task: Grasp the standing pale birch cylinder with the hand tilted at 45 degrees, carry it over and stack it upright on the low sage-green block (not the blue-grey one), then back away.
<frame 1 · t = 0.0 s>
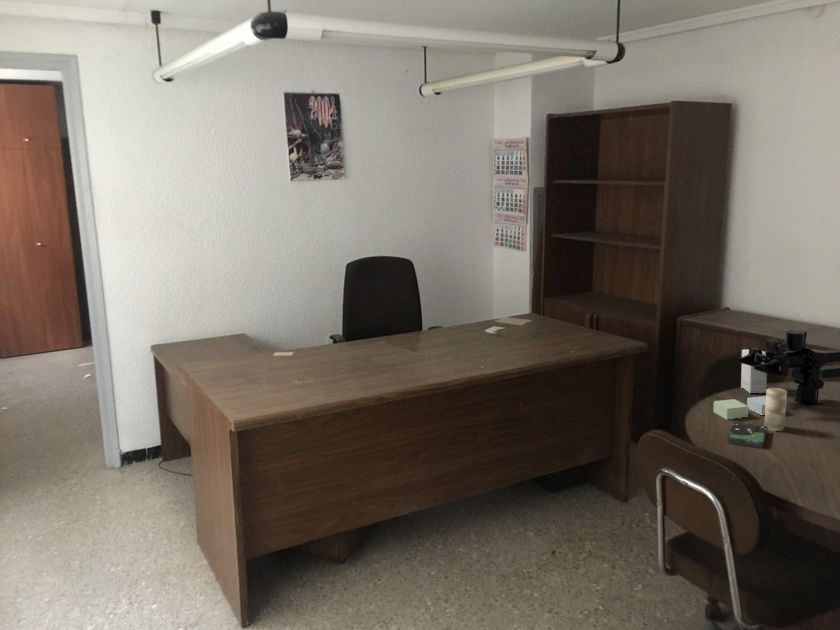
hand: (745, 364, 248), 17 cm above the table, tool horizontal, fingers open, 9 cm apart
sage block: (730, 414, 247), on the table
blue-grey block: (764, 411, 249), on the table
skincare box: (752, 391, 271), on the table
disk drive: (747, 439, 227), on the table
birch cylinder: (774, 428, 233), on the table
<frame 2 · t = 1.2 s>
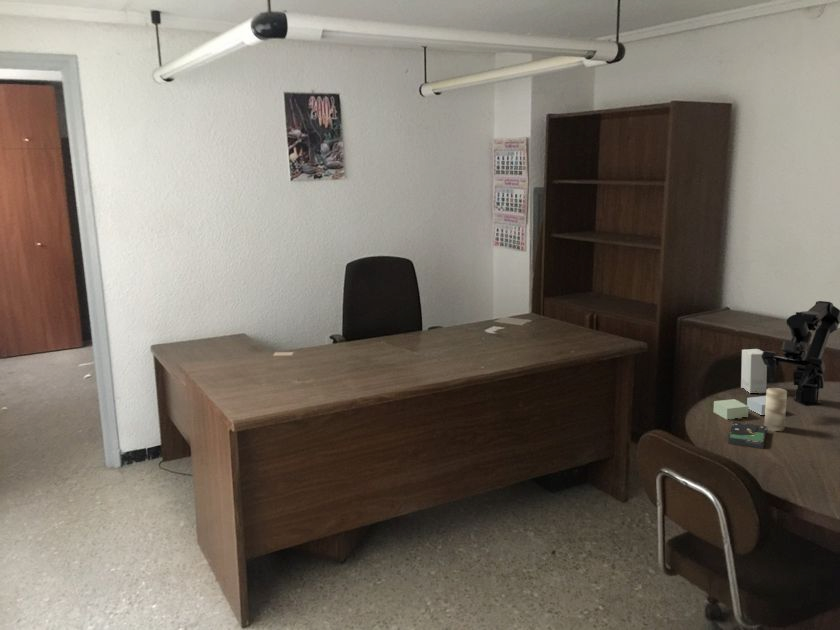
hand: (785, 383, 236), 13 cm above the table, tool tilted 45°, fingers open, 9 cm apart
nothing on the table moved.
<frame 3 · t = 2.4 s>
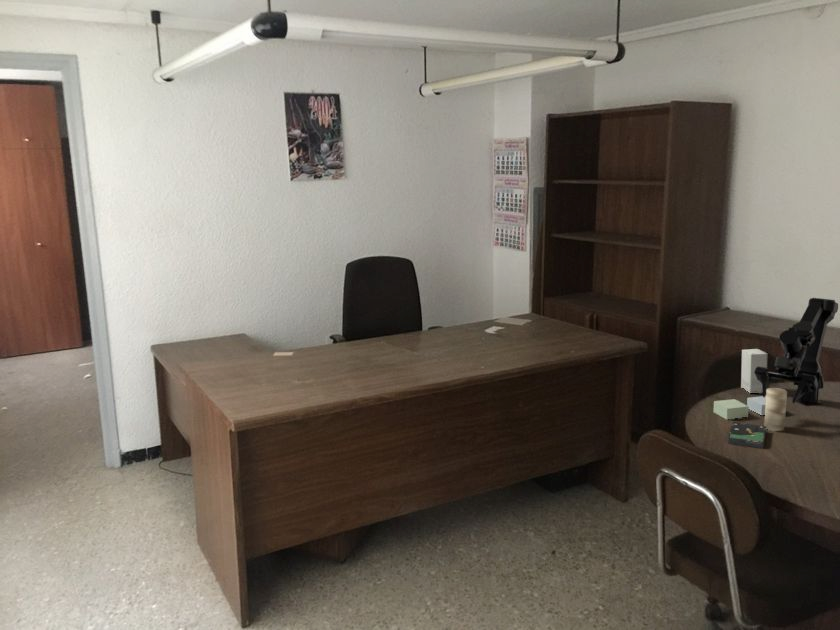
hand: (778, 399, 233), 9 cm above the table, tool tilted 45°, fingers open, 9 cm apart
nothing on the table moved.
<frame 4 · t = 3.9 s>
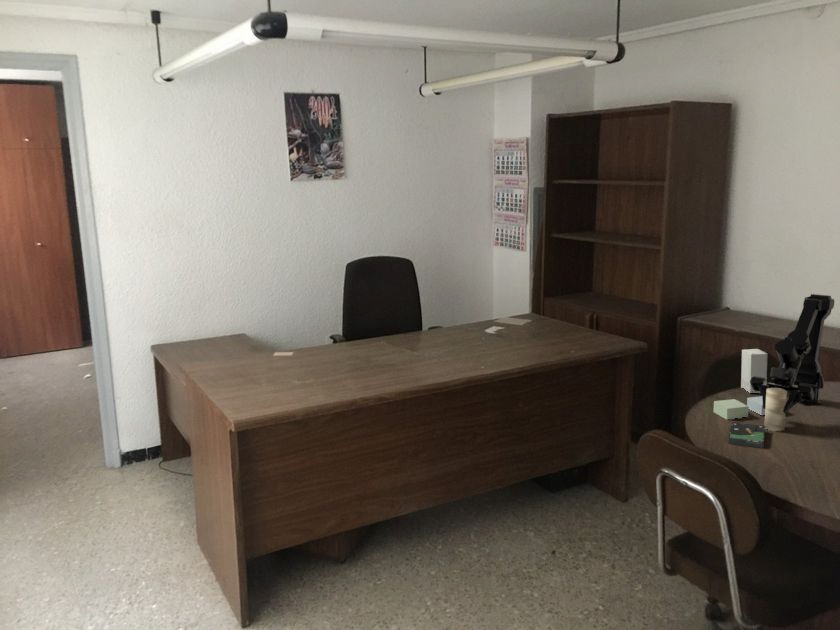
hand: (773, 410, 231), 7 cm above the table, tool tilted 45°, fingers closed on birch cylinder, 6 cm apart
birch cylinder: (774, 428, 233), on the table, touching gripper
everything else where it was.
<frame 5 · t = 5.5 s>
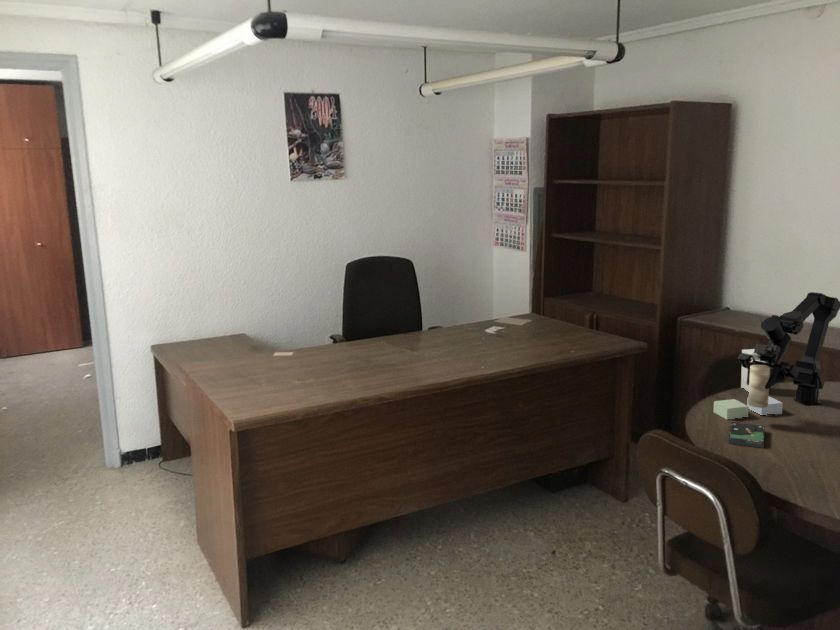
hand: (756, 386, 234), 13 cm above the table, tool tilted 45°, fingers closed on birch cylinder, 6 cm apart
birch cylinder: (757, 404, 236), point 7 cm above the table, touching gripper
everything else where it was.
when the fingers open (11 cm above the table, at t = 7.0 s): birch cylinder stays where it is, resting on sage block.
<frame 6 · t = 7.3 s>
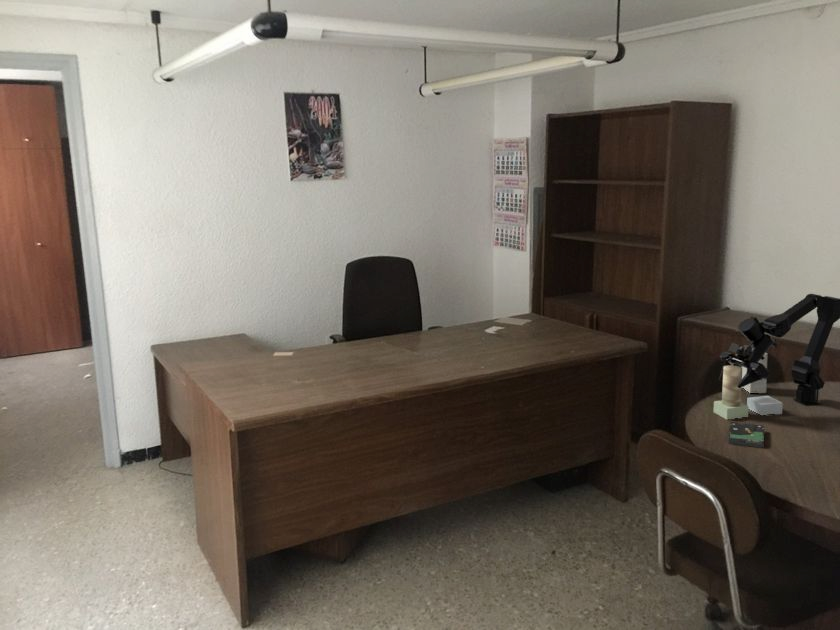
hand: (728, 383, 244), 12 cm above the table, tool tilted 45°, fingers open, 9 cm apart
birch cylinder: (731, 403, 246), point 4 cm above the table, touching sage block
everything else where it was.
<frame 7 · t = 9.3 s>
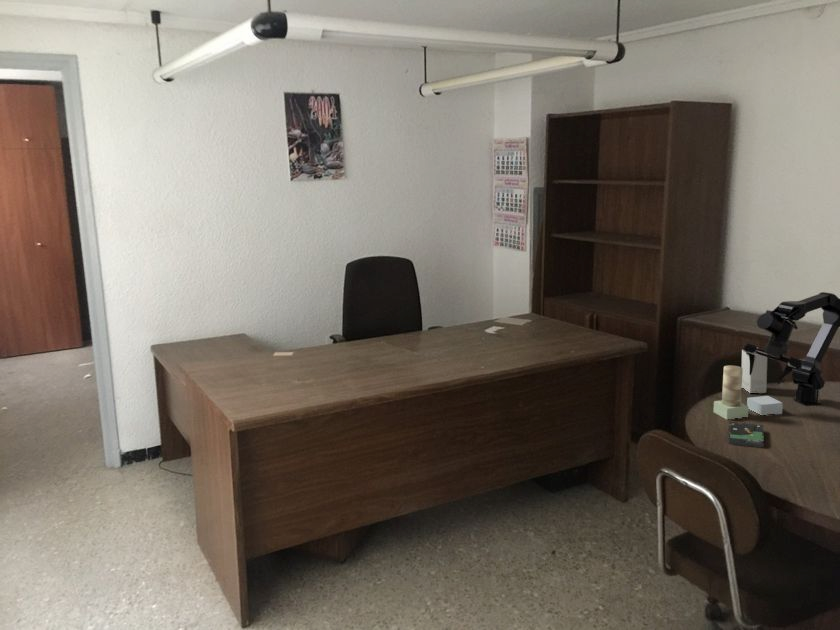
hand: (764, 379, 244), 12 cm above the table, tool tilted 25°, fingers open, 9 cm apart
nothing on the table moved.
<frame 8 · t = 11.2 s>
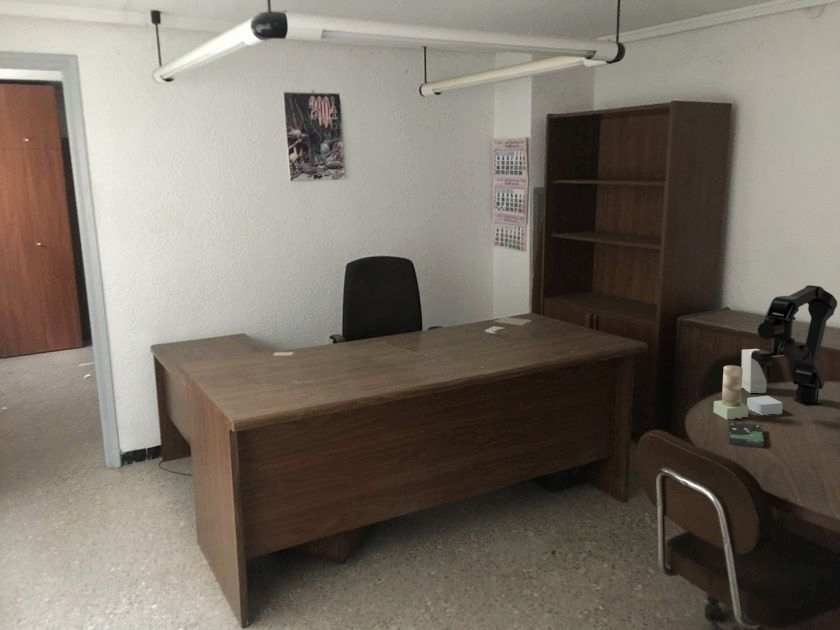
hand: (779, 378, 243), 13 cm above the table, tool pointing down, fingers open, 9 cm apart
nothing on the table moved.
at the end: birch cylinder 0.0 cm off-centre on the sage block, point 4.0 cm above the sage block's base; birch cylinder tilted 0°; birch cylinder touching sage block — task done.
